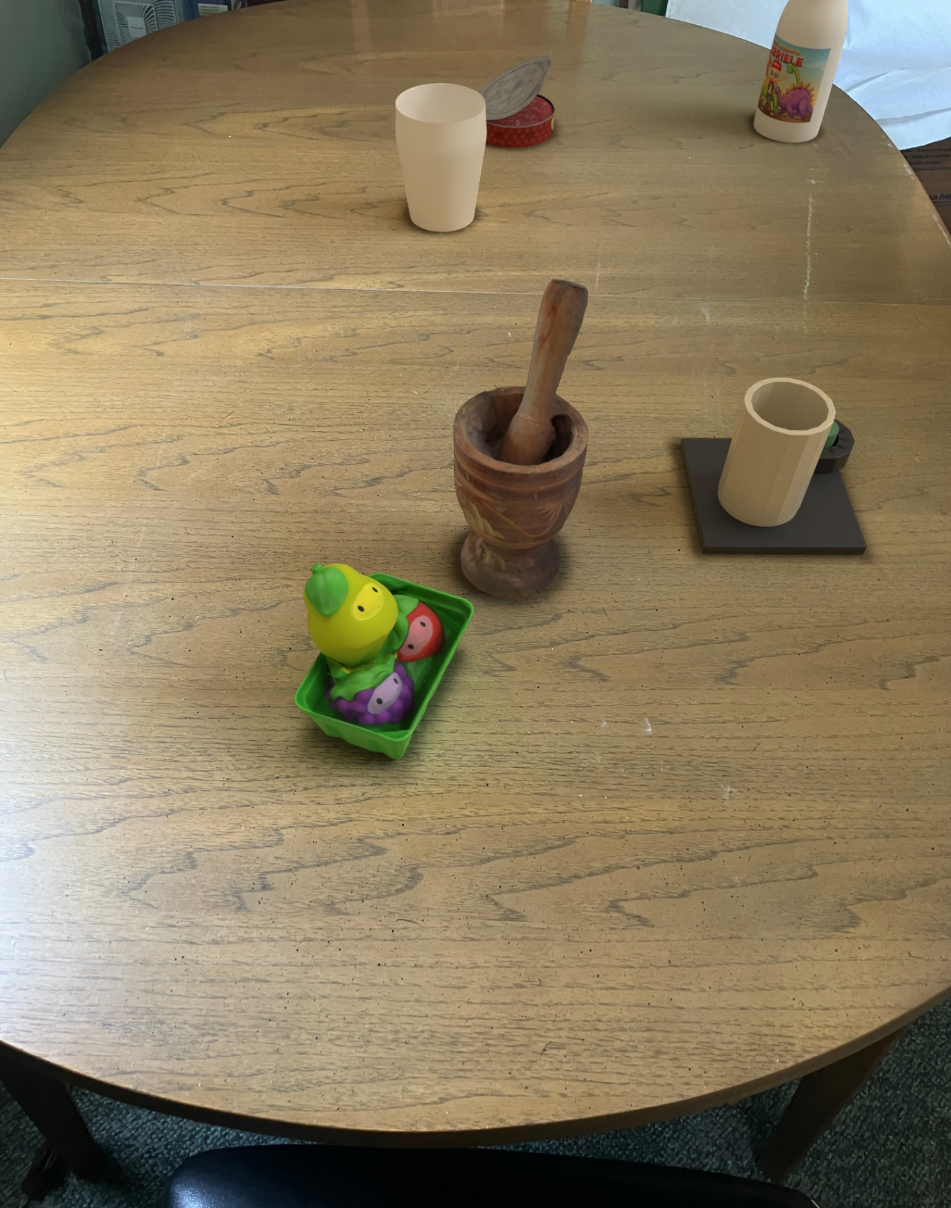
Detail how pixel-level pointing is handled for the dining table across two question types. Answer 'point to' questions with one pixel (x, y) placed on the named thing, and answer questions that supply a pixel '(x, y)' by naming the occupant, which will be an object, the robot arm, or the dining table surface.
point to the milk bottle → (801, 69)
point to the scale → (811, 531)
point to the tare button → (832, 435)
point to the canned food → (519, 105)
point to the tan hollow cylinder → (774, 450)
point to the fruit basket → (376, 654)
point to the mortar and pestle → (522, 460)
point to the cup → (441, 153)
